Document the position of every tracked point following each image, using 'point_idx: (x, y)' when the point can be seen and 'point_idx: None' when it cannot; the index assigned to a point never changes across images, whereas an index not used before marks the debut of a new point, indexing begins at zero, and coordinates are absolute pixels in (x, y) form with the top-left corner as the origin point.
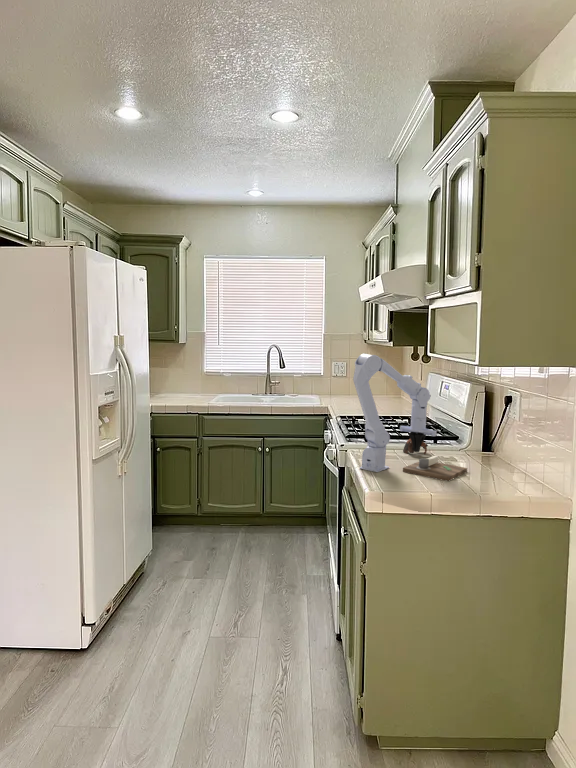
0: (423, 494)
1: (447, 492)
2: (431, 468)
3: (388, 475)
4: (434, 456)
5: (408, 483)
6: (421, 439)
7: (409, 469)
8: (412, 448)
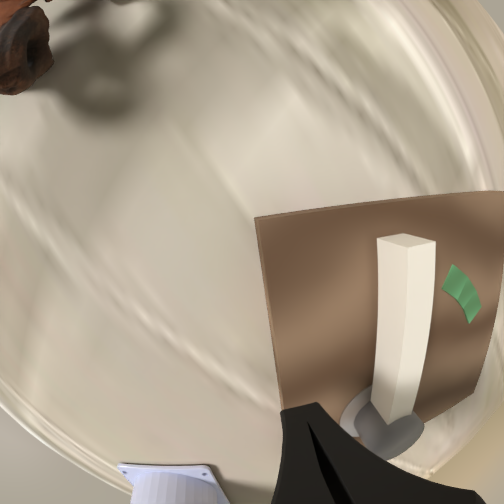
0: None
1: (460, 440)
2: None
3: None
4: (419, 284)
5: None
6: (389, 501)
7: None
8: (30, 58)
